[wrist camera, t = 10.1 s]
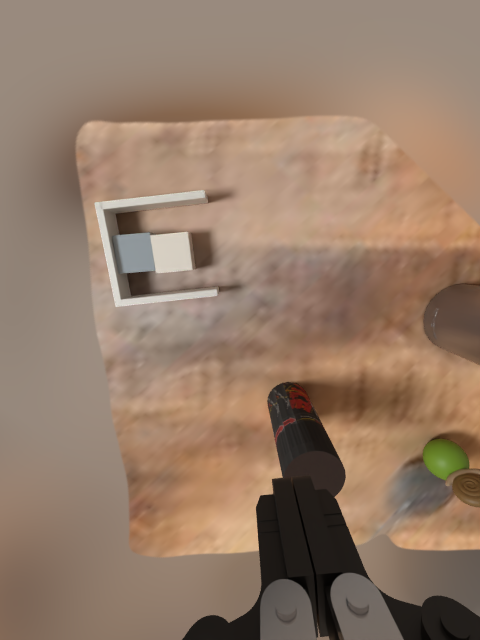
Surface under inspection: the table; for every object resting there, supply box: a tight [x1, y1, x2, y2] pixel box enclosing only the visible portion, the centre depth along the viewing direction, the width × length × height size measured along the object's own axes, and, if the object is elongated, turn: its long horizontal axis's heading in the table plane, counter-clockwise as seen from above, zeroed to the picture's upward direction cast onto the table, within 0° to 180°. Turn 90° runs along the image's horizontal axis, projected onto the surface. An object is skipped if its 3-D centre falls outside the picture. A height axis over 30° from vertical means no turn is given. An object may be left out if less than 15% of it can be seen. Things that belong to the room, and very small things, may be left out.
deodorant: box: [267, 382, 346, 497], centre depth 35 cm, size 6×6×15 cm
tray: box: [95, 190, 219, 307], centre depth 36 cm, size 13×12×4 cm
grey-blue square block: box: [112, 232, 156, 274], centre depth 36 cm, size 4×4×3 cm
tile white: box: [150, 232, 196, 273], centre depth 36 cm, size 4×4×3 cm
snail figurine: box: [423, 439, 480, 507], centre depth 38 cm, size 5×6×12 cm
